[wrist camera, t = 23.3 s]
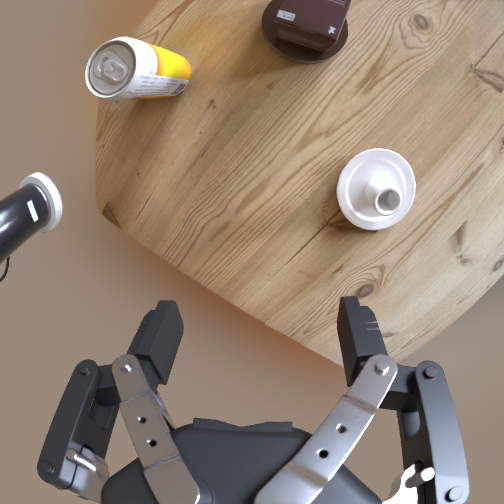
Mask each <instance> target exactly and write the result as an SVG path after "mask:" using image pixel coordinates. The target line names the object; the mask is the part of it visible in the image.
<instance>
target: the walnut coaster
mask: <svg viewBox="0 0 504 504" xmlns="http://www.w3.org/2000/svg"><path fill="white" fill-rule="evenodd" d="M282 1H283V0H272V1H271V2H270V3H269V4H268V6H267V7H266V9H265V11H264V13H263V17H262V27H263V33H264V36H265V39H266V41H267V43H268V44H269V46H270V47H271V48H272V49H273V50H274V51H275V52H276V53H277V54H278V55H280V56H281V57H283V58H285V59H287V60H290V61H292V62H296V63H302V64H314V63H319V62H323V61H325V60H327V59H329V58H331V57H332V56H334V55H335V54H336V53H338V52H339V51H340V50H341V49H342V47H343V46H344V44H345V42H346V40H347V37H348V24H347V20H346V19H345V21H344V24H343V26H342V29H341V32H340V35H339V38H338V41H337V42H336V43H335V44H333V45H332V46H331V47H330V48H329V49H328V50H327V51H326V52H325V53H322V52H319V51H317V50H314V49H311V48H308V47H305V46H302V45H299V44H296V43H293V42H290V41H287V40H284V39H281V38H277V37H275V25H274V23H275V22H274V20H275V18H276V15H277V13H278V10H279V8H280V5H281V3H282Z"/></svg>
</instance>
